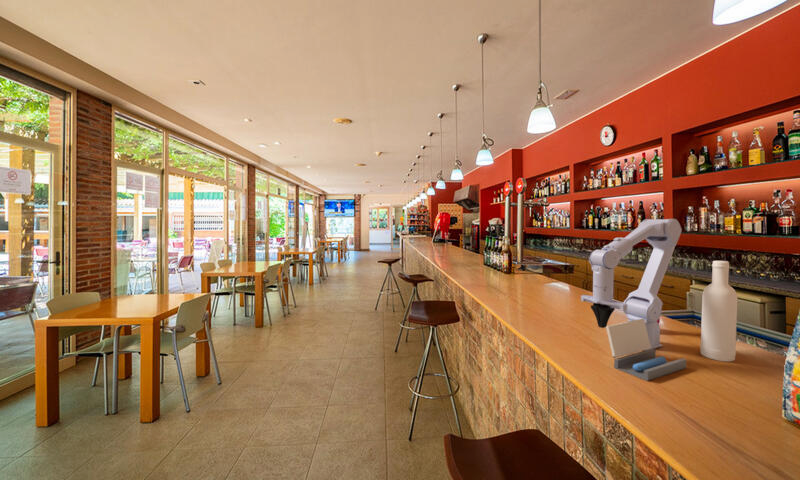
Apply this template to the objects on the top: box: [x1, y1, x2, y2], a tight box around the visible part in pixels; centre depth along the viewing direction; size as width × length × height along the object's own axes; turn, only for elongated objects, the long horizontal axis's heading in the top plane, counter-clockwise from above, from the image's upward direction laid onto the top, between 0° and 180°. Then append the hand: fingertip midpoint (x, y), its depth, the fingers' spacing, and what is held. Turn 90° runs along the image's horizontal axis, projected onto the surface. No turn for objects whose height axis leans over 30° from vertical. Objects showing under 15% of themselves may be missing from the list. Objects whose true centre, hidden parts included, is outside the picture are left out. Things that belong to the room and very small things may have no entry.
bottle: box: [699, 260, 739, 363], centre depth 102 cm, size 8×8×30 cm
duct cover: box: [605, 319, 651, 359], centre depth 101 cm, size 17×9×1 cm
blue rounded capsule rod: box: [633, 355, 667, 371], centre depth 95 cm, size 13×2×2 cm, turn 113°
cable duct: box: [613, 348, 687, 382], centre depth 96 cm, size 18×9×3 cm, turn 113°
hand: (602, 327), depth 109 cm, fingers closed
